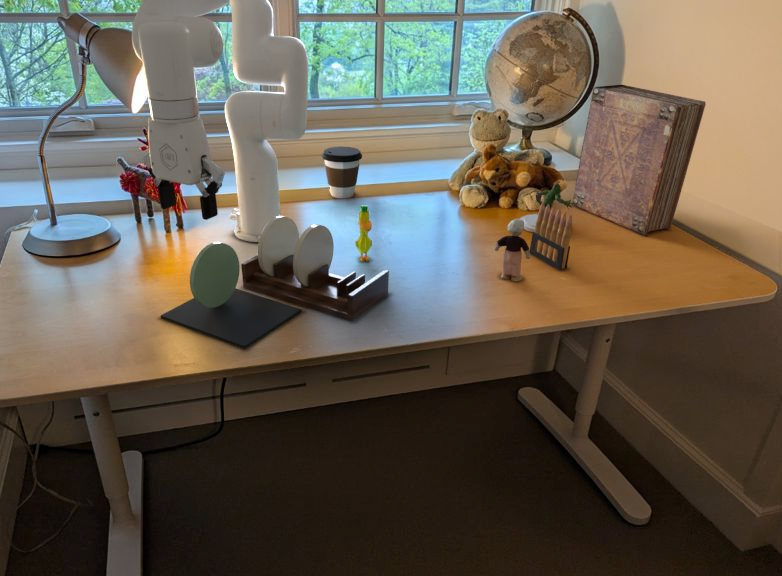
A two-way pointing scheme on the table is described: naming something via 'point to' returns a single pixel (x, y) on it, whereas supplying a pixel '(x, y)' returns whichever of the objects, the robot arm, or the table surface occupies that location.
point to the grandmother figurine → (513, 250)
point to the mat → (234, 317)
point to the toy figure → (364, 233)
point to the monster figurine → (550, 197)
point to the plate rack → (318, 288)
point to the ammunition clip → (552, 237)
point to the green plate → (214, 274)
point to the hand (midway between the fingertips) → (189, 212)
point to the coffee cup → (342, 170)
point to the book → (636, 156)
